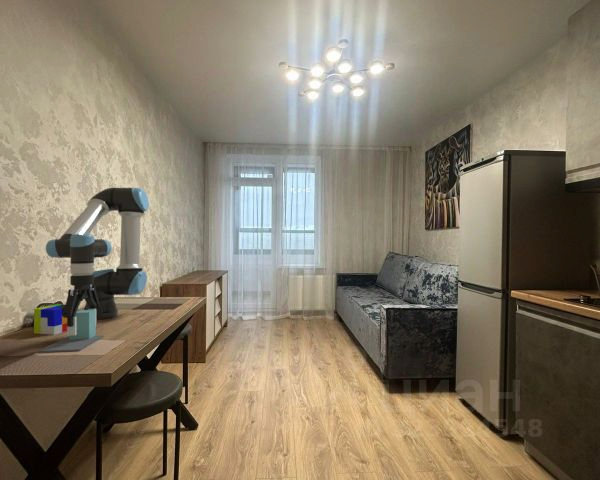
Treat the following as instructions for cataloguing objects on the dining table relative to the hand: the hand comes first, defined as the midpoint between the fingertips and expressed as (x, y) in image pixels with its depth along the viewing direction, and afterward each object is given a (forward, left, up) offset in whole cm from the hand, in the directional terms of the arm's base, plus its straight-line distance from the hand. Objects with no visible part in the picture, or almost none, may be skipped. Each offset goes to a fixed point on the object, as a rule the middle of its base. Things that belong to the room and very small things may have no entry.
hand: (82, 329), depth 121 cm
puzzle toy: (-14, -18, -4) cm, 23 cm away
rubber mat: (+6, 0, -4) cm, 7 cm away
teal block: (0, 0, -3) cm, 3 cm away
